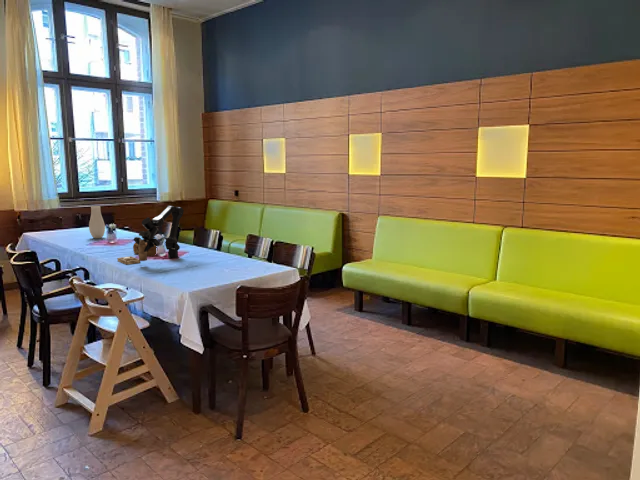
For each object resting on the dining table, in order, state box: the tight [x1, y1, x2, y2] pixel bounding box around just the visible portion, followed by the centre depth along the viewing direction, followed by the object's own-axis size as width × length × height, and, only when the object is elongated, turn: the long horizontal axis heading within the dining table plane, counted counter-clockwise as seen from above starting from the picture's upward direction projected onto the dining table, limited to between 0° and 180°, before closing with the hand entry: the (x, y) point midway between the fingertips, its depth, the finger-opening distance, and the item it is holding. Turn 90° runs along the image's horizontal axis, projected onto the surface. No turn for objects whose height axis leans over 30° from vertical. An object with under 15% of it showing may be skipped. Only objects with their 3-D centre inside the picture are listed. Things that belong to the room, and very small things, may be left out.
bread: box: [132, 242, 158, 257], centre depth 381 cm, size 19×11×10 cm, turn 52°
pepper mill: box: [138, 240, 148, 262], centre depth 338 cm, size 5×5×14 cm
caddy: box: [117, 255, 141, 266], centre depth 351 cm, size 10×16×3 cm, turn 43°
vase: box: [88, 205, 106, 239], centre depth 457 cm, size 14×14×30 cm
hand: (141, 251), depth 337 cm, fingers closed on pepper mill, 5 cm apart
